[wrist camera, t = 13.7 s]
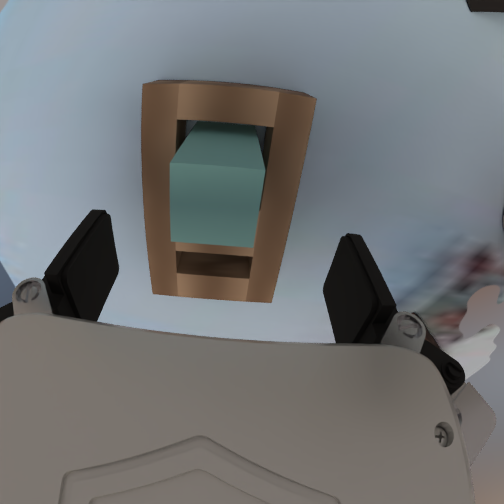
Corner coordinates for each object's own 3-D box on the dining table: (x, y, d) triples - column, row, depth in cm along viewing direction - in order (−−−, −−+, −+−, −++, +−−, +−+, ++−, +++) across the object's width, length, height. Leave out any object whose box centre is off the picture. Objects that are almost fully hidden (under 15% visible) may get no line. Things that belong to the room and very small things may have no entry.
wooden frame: (303, 92, 19) (316, 98, 16) (267, 274, 30) (271, 302, 27) (158, 80, 18) (142, 84, 15) (160, 266, 29) (152, 293, 26)
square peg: (254, 125, 21) (265, 170, 13) (247, 176, 24) (253, 247, 16) (198, 121, 21) (169, 162, 13) (194, 172, 23) (170, 241, 15)
